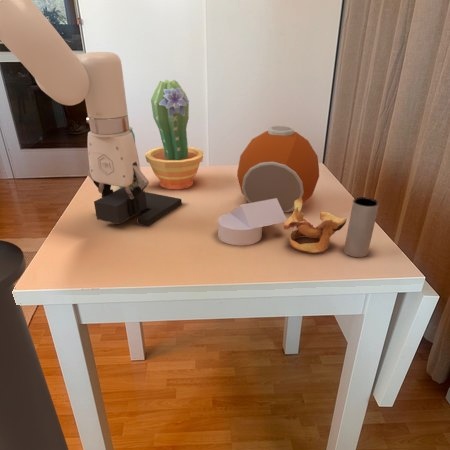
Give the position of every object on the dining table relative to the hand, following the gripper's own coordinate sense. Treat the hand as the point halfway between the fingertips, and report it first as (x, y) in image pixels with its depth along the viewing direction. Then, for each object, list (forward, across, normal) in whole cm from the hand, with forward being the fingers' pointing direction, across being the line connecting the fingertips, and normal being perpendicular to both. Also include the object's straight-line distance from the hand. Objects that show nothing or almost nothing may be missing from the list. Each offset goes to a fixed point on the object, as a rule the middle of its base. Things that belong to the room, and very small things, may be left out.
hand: (122, 211), depth 92 cm
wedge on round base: (+2, +28, +6) cm, 28 cm away
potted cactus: (+2, -2, +26) cm, 26 cm away
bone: (+2, +41, +7) cm, 41 cm away
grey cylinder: (+3, +50, +8) cm, 50 cm away
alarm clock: (+3, +27, +25) cm, 37 cm away
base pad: (+2, 0, +7) cm, 7 cm away
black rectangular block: (+1, 0, 0) cm, 1 cm away
